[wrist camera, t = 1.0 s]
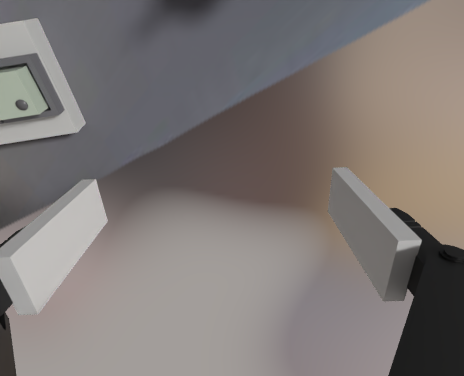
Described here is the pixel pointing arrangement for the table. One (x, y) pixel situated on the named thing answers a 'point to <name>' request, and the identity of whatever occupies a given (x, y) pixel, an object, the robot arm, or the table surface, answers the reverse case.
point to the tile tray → (47, 80)
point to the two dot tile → (19, 94)
